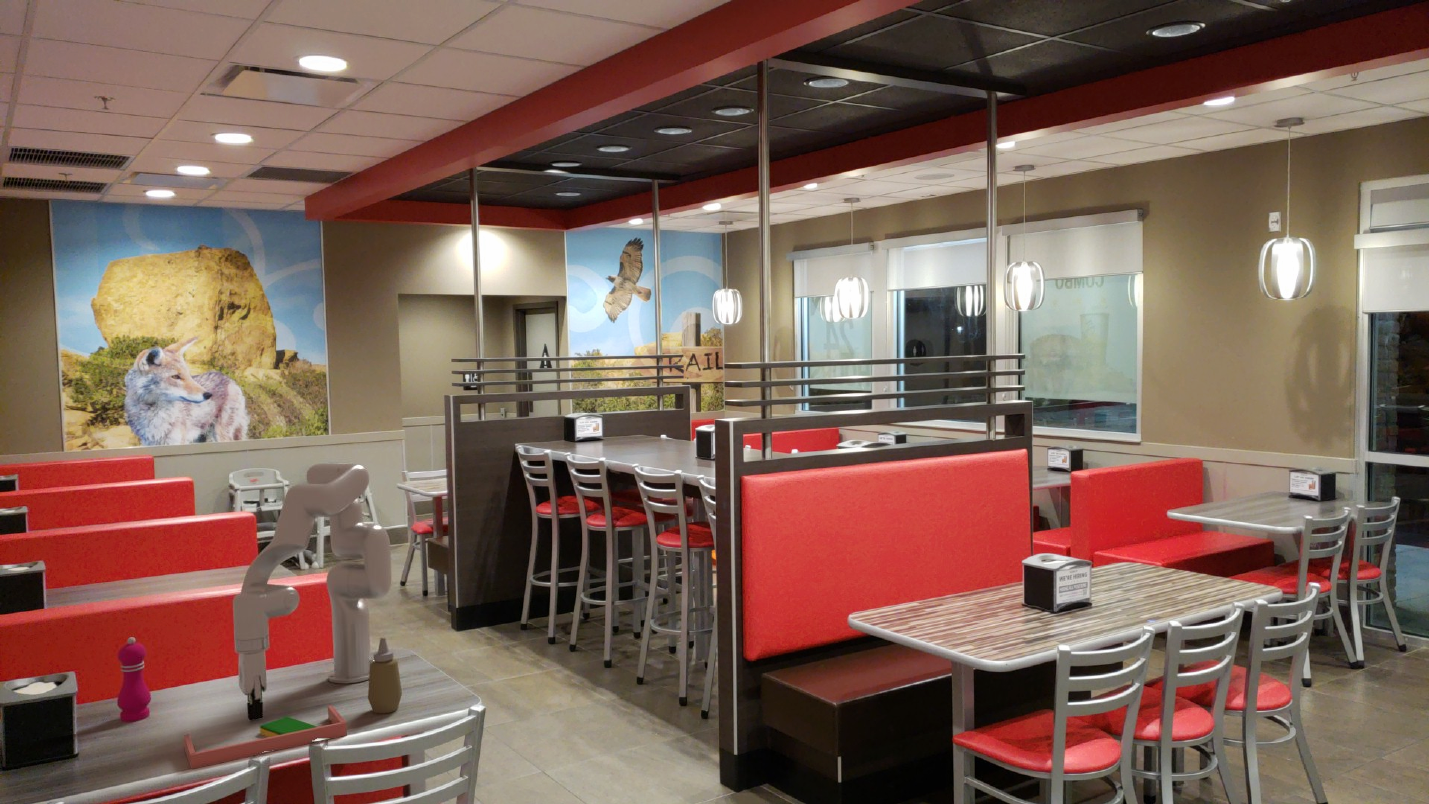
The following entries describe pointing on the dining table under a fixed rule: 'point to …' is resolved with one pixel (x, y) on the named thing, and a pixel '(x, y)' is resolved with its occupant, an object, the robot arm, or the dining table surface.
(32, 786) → the dining table surface
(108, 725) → the dining table surface
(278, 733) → the dish sponge
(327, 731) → the pink u-shaped bracket
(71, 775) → the dining table surface
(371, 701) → the squeeze bottle
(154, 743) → the dining table surface
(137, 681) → the pepper mill
